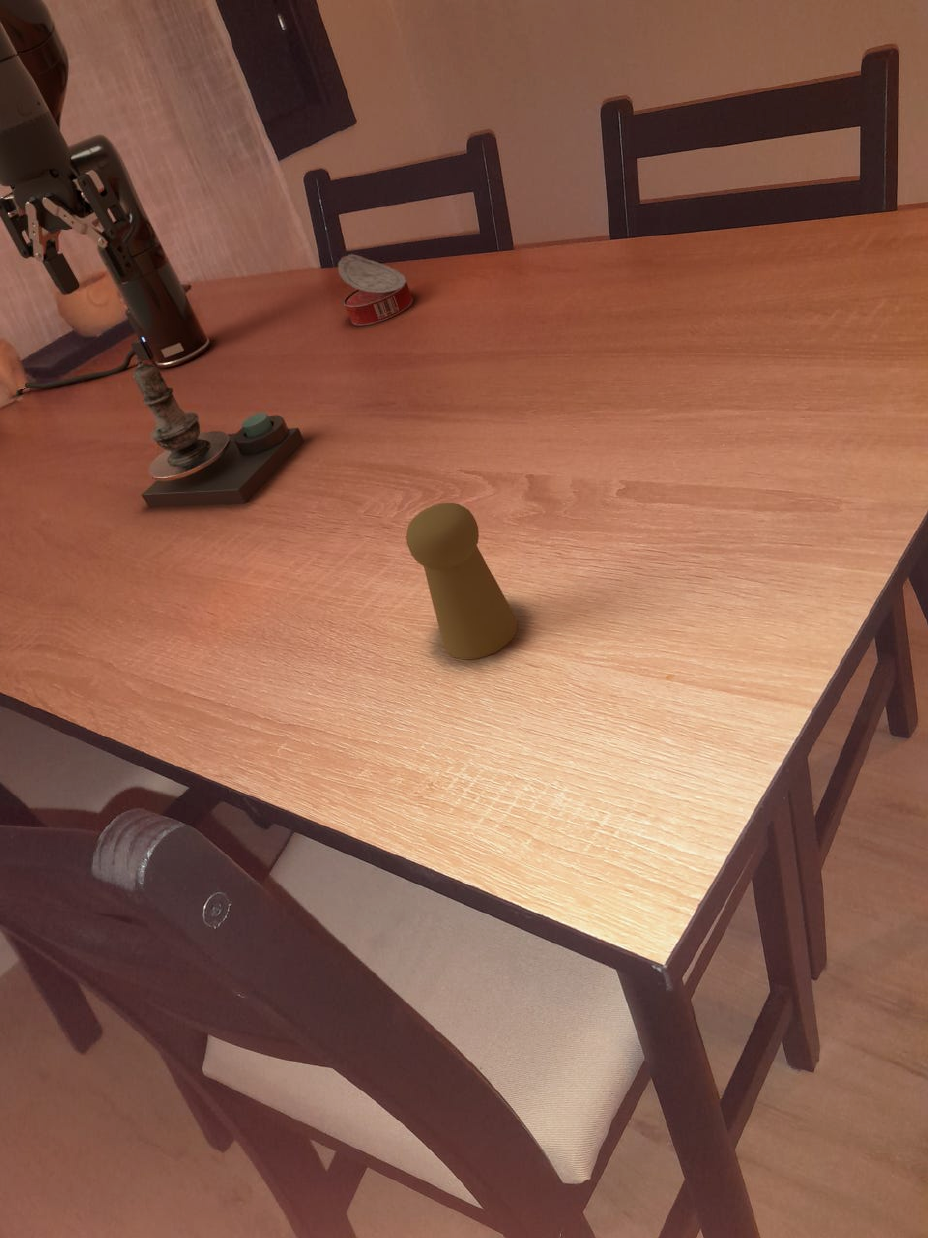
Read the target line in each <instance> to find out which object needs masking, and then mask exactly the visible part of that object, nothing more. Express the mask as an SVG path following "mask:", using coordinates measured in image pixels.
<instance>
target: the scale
mask: <svg viewBox="0 0 928 1238" xmlns="http://www.w3.org/2000/svg"><path fill="white" fill-rule="evenodd" d="M268 418H269V420H270V422H271V424H272V427H271V428H270V429H269V430H268V431H266V432H264V433H263V434H261V435H258V436H255V437H247V436H246V434H245V432H244V430H243V428H242V427H241V428H239V430H238V431H237V432H235V433H226V434H227V435H228V436H229V438H230V446H229V447H228V449H227V450H226V452H225V453H224V454H223V455H222V456H221V457H219V458H218V459H217V460H216V461H214V462H213V463H211V464H210V465H208V466H207V467H205V468H203V469H201V470H199V471H197V472H195V473H193V474H190V475H188V476H185V477H182V478H179V479H175V480H170V481H157V480H155V481H154V482H153V483H152V484H151V485H150V486H149V487H147V488H146V489H145V490H144V491H143V492H142V494H140V495H141V497H142V499H143V500H144V502H145V504H146V505H147V507H148V508H151V509H152V508H170V507H171V508H173V507H193V506H194V507H195V506H217V505H241V504H247V503H248V502H249V501H250V499H252V497H254V495H255V494H256V493H257V492H258V491H259V490H260V489H261V488H262V487H263V486H264V484H265V483H266V482H268V480H269V479H271V477H272V476H273V475H274V474H275V473H276V472H277V471H278V470H279V469H280V468H281V467H282V466H283V464H284V463H285V462H286V461H287V460H289V458H290V457H291V456H292V455H293V454H294V453H295V452H296V451H297V450H298V449H299V448H300V447H301V445H302V444H303V443H304V442H305V439H304V436H303V435H302V432H301V431H300V429H299V427H293V428H292V427H290V428H289V426H288V425H287V423H286V420H285V419H284V417H283V416H280V415H278V414H274V415H268Z"/></svg>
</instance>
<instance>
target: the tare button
mask: <svg viewBox="0 0 928 1238" xmlns="http://www.w3.org/2000/svg"><path fill="white" fill-rule="evenodd" d="M268 416H269V415H268V413H266V412H258V413H255V414H252V415H250V416H249V417H247V418H246V419H244V420H243V421H242V422H241V428H243V430H244V432H245V434H246V436H247V437H255V436H258V435H261V434H263V433H264V432H266V431H268V430H269V429H270V428H271V427H272V424H271V422H270V420H269V418H268Z"/></svg>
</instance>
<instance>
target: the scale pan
mask: <svg viewBox="0 0 928 1238" xmlns="http://www.w3.org/2000/svg"><path fill="white" fill-rule="evenodd" d="M227 434H228V433H226V432H224V431H221V430H214V431H213V430H212V431H208V432H202V433H200V434H199V437H198V439H202V440H207V441H209V443H210V447H209V448H208V450H207V451H206V452H205V453H203V454H202V455H201V456H199V457H198V458H196V459H194V460H192V461H190V462H187V463H184V464H181V465H170V464H168V462H167V460H168V457H169V456H170V454H171V452H172V451H168V450H165V449H164V451H162V452H161V453H160V454H159V455H158V456H156V457H155V458H154V459H153V461H152V462H151V464H150V465H149V467H148V474H149V476H150V477H151V479H153V480H154V481H170V480H175V479H179V478H182V477H185V476H188V475H190V474H193V473H195V472H197V471H199V470H201V469H203V468H205V467H207V466H208V465H210V464H211V463H213V462H214V461H216V460H217V459H218V458H219V457H221V456H222V455H223V454H224V453H225V452H226V450H227V449H228V447H229V446H230V438H229V436H228V435H227Z"/></svg>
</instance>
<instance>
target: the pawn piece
mask: <svg viewBox="0 0 928 1238" xmlns="http://www.w3.org/2000/svg"><path fill="white" fill-rule="evenodd" d="M479 537H480V534H479V527H478V523H477V520H476V519H475V517H474V515H473V513H472V512H471V511H470V510H469V509H468V508H466V507H465V506H463V505H462V504H460V503H456V502H442V503H437V504H433V505H431V506H429V507H427V508H424V509H423V510H422V511H421V510H420V512H418V514H416V515H415V516H414V517H413V518H411V520H410V521H409V523H408V525H407V530H406V533H405V542H406V546H407V548H408V550H409V552H410V556H412V559H414V560H415V561H416V562H417V563H418V564H419V565H422V566H423V568H424V572H425V573H424V574H425V577H426V581H427V585H428V589H429V593H430V598H431V601H432V605H433V609H434V614H435V617H436V622H437V625H438V631H439V634H440V639H441V642H442V646H443V649H444V651H445V652H446V653H447V654H448V655H450V656H451V657H453V658H456V659H459V660H476V659H481V658H486V657H488V656H490V655H493V654H495V653H497V652H499V651H500V650H502V649H503V648H504V647H506V646H507V645H508V644H509V643H510V642H511V641H512V640H513V639H514V638H515V635H516V634H517V631H518V626H519V621H518V619H517V617H516V615H515V613H514V611H513V610H512V608H511V606H510V604H509V602H508V600H507V599H506V597H505V595H504V593H503V591H502V589H501V587H500V586H499V584H498V582H497V580H496V578H495V576H494V574H493V573H492V571H491V569H490V567H489V566H488V563H487V562H486V559H485V558H484V555H482V553H481V551H480V548H479V547H478V544H479Z"/></svg>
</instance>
